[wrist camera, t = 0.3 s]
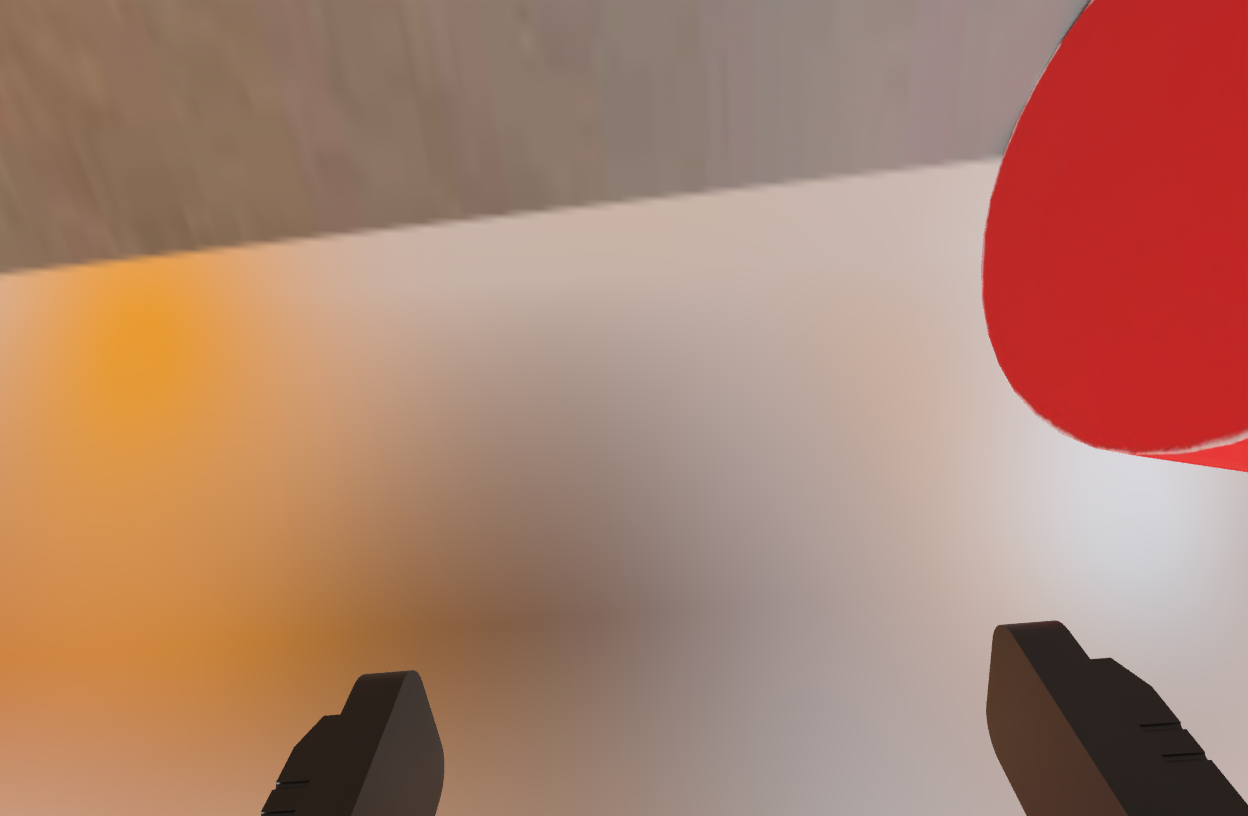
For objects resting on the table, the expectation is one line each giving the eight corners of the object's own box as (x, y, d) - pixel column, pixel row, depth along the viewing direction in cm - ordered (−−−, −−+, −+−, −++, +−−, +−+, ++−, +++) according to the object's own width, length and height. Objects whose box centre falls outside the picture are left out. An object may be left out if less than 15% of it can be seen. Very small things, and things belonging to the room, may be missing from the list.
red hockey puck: (1026, 292, 41) (1293, 597, 26) (930, 273, 40) (1150, 580, 25) (1316, -150, 29) (2144, -65, 14) (1189, -195, 28) (1933, -155, 13)
